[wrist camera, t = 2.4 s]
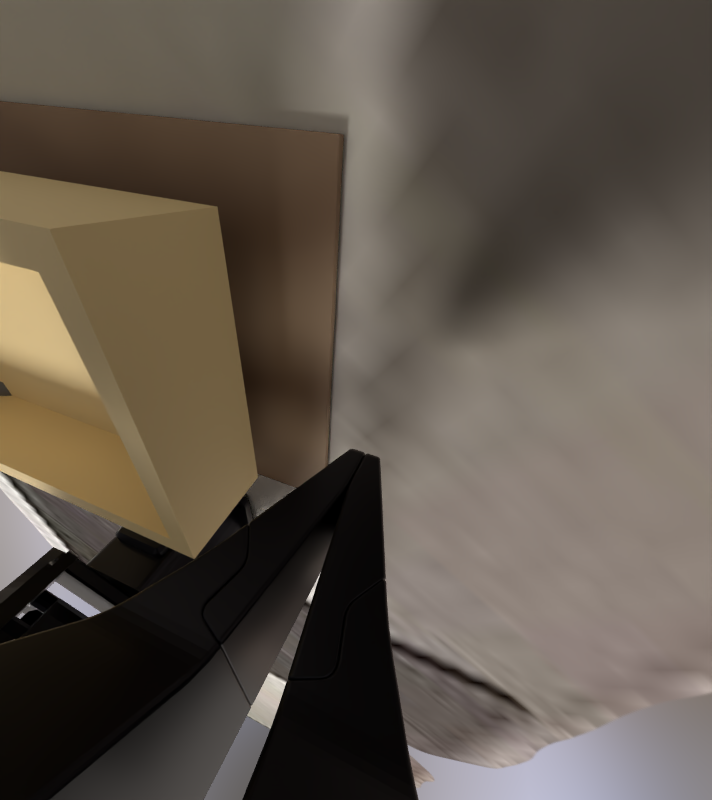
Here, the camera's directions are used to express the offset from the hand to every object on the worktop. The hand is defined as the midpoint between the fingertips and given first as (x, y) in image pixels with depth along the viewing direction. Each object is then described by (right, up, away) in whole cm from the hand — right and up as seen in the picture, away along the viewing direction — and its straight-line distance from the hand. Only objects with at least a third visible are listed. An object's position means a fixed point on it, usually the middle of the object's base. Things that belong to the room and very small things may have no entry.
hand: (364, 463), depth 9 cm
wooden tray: (-11, +6, +6) cm, 14 cm away
